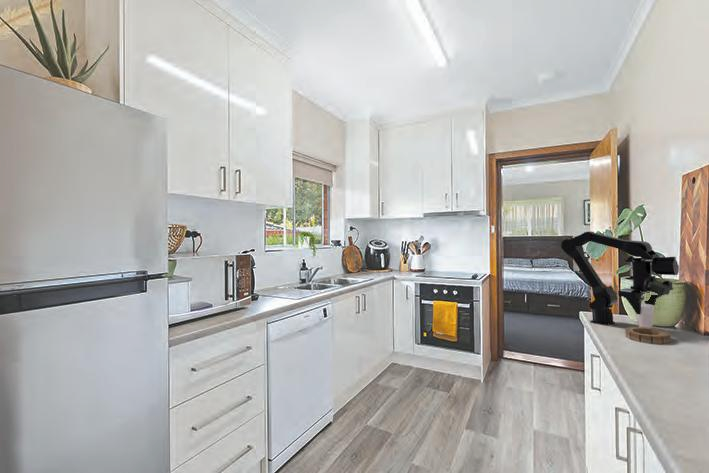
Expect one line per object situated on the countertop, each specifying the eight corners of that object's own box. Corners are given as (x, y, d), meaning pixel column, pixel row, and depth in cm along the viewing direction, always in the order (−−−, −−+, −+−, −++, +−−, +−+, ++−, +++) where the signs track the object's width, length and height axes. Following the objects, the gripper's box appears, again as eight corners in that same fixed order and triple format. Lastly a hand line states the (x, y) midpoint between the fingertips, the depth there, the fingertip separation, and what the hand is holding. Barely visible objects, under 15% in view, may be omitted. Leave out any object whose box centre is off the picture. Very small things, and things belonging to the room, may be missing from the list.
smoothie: (631, 329, 132) (629, 294, 132) (640, 326, 134) (637, 292, 134) (651, 333, 126) (648, 296, 126) (659, 330, 129) (657, 294, 129)
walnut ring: (617, 336, 125) (617, 329, 125) (640, 331, 128) (640, 325, 128) (654, 345, 113) (653, 338, 113) (678, 340, 116) (678, 333, 116)
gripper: (647, 277, 120) (650, 320, 120) (683, 273, 125) (686, 314, 125) (616, 275, 131) (618, 314, 131) (649, 270, 136) (652, 308, 136)
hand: (644, 313), depth 130 cm, fingers closed on smoothie, 6 cm apart
